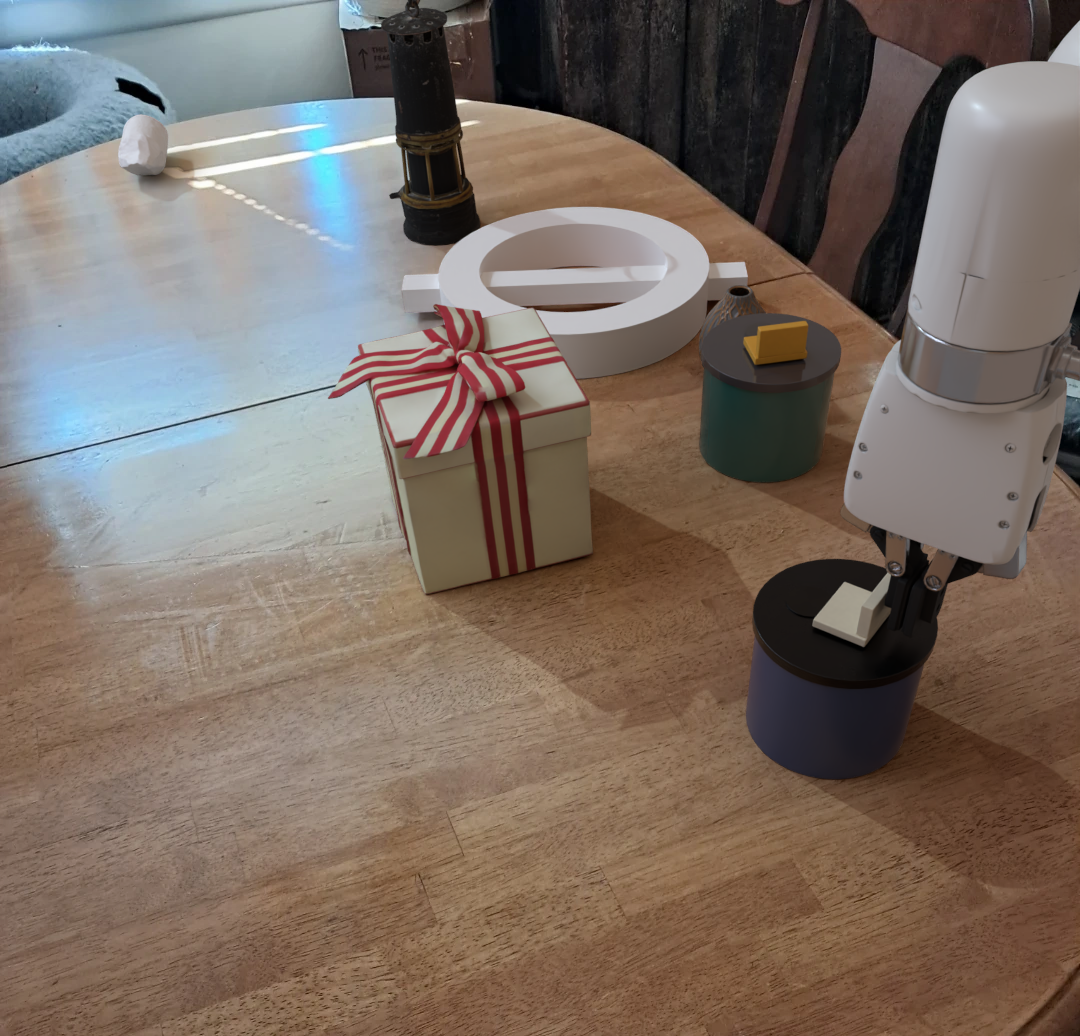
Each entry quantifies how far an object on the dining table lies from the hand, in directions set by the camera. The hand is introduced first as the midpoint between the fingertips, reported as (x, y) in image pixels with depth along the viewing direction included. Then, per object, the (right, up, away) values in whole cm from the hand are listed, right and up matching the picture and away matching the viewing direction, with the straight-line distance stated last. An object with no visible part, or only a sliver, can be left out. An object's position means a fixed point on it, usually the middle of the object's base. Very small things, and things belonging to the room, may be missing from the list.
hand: (909, 620), depth 71 cm
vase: (-4, +27, +41) cm, 50 cm away
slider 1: (-3, +25, +25) cm, 35 cm away
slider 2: (-3, 0, +3) cm, 4 cm away
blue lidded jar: (-3, -6, +10) cm, 12 cm away
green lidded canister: (-3, +19, +33) cm, 38 cm away
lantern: (-34, +53, +67) cm, 92 cm away
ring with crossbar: (-19, +38, +52) cm, 67 cm away
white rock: (-75, +67, +83) cm, 130 cm away
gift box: (-28, +9, +27) cm, 40 cm away
